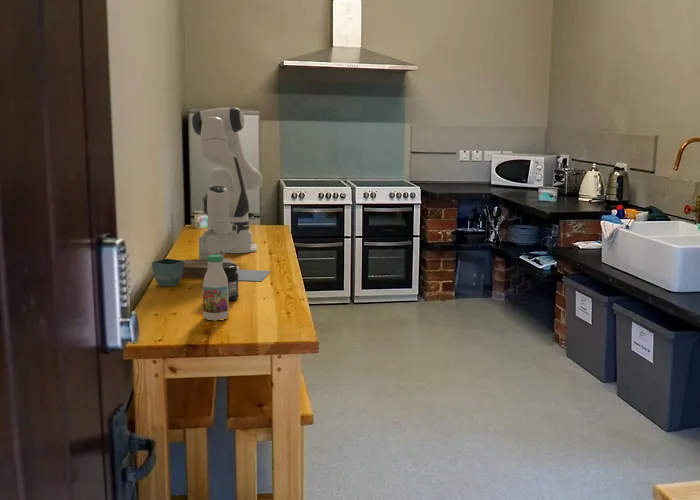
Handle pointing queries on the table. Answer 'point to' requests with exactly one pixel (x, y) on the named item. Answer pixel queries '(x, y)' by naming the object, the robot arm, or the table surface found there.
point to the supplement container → (231, 280)
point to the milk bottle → (215, 290)
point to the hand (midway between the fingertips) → (219, 262)
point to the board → (195, 268)
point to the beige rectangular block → (230, 262)
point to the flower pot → (168, 271)
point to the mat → (252, 275)
